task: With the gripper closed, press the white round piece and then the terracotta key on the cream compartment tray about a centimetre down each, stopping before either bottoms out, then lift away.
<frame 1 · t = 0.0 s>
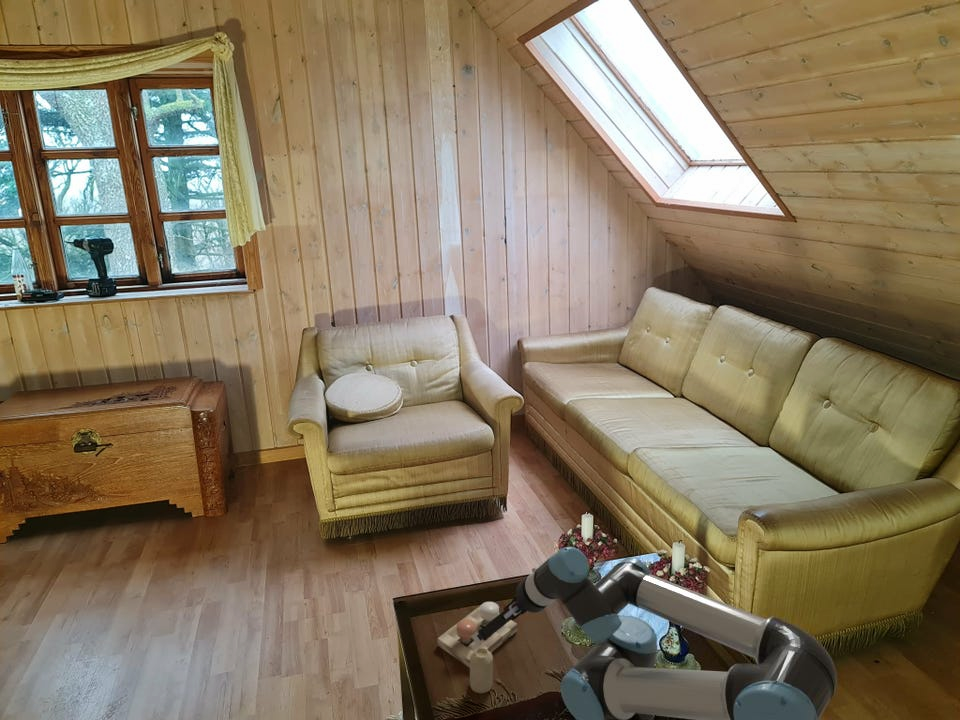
hand: (494, 624, 172), 15 cm above the table, tool tilted 35°, fingers open, 13 cm apart
key terracotta: (466, 633, 184), point 5 cm above the table, slide at 0.0 cm
cream compartment tray: (478, 638, 188), on the table
cream bottle: (481, 685, 174), on the table
white round piece: (489, 615, 190), point 5 cm above the table, slide at 0.0 cm
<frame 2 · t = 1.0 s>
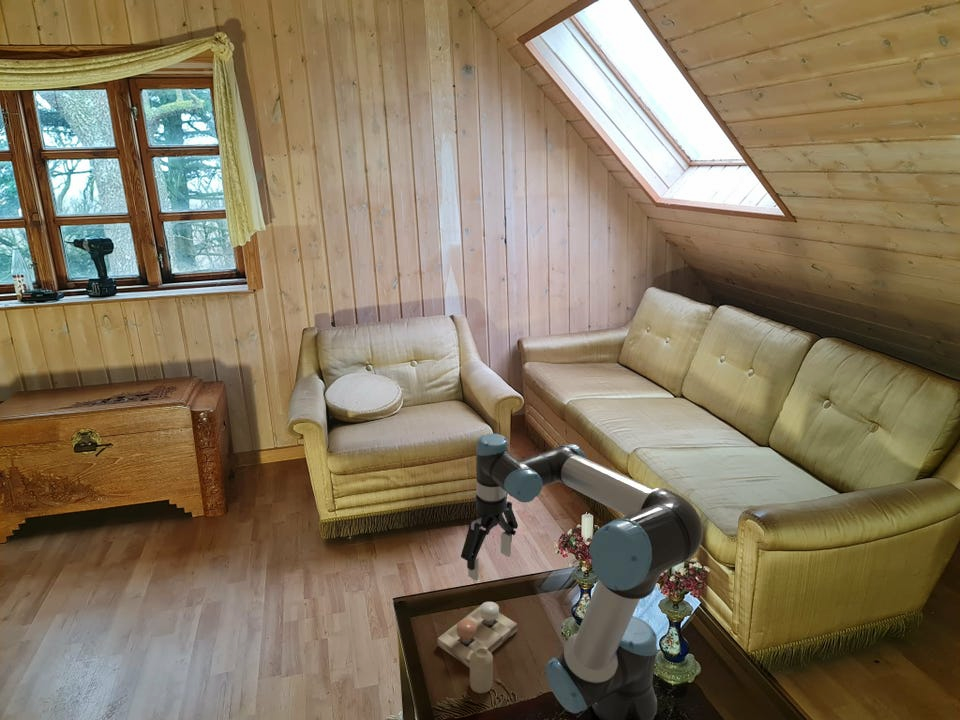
hand: (489, 565, 184), 21 cm above the table, tool pointing down, fingers open, 12 cm apart
nothing on the table moved.
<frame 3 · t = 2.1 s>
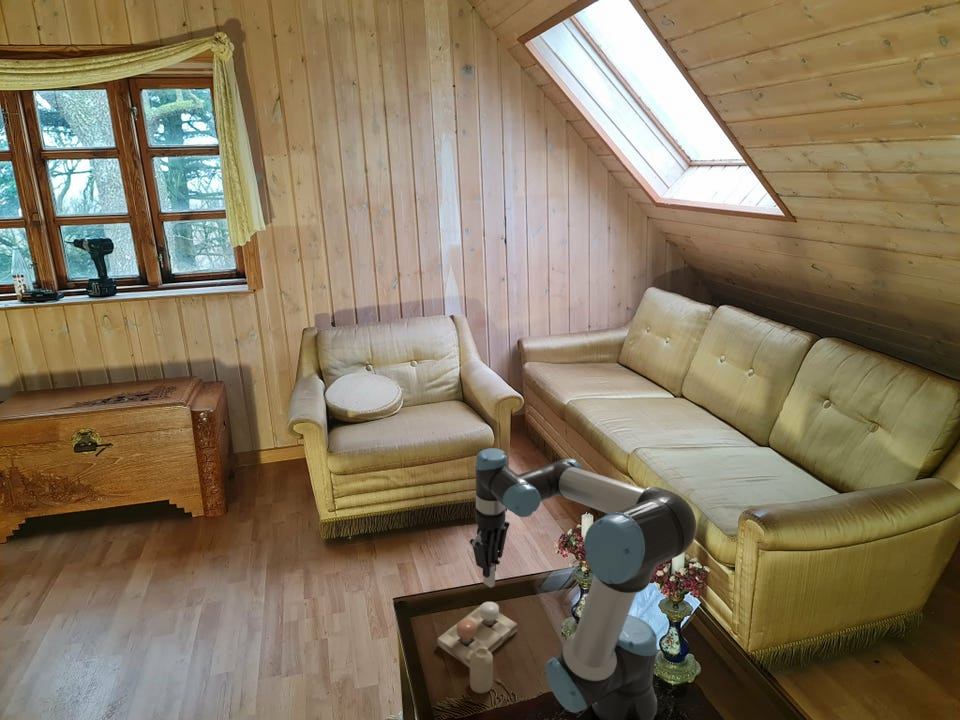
hand: (489, 584, 186), 15 cm above the table, tool pointing down, fingers closed
nothing on the table moved.
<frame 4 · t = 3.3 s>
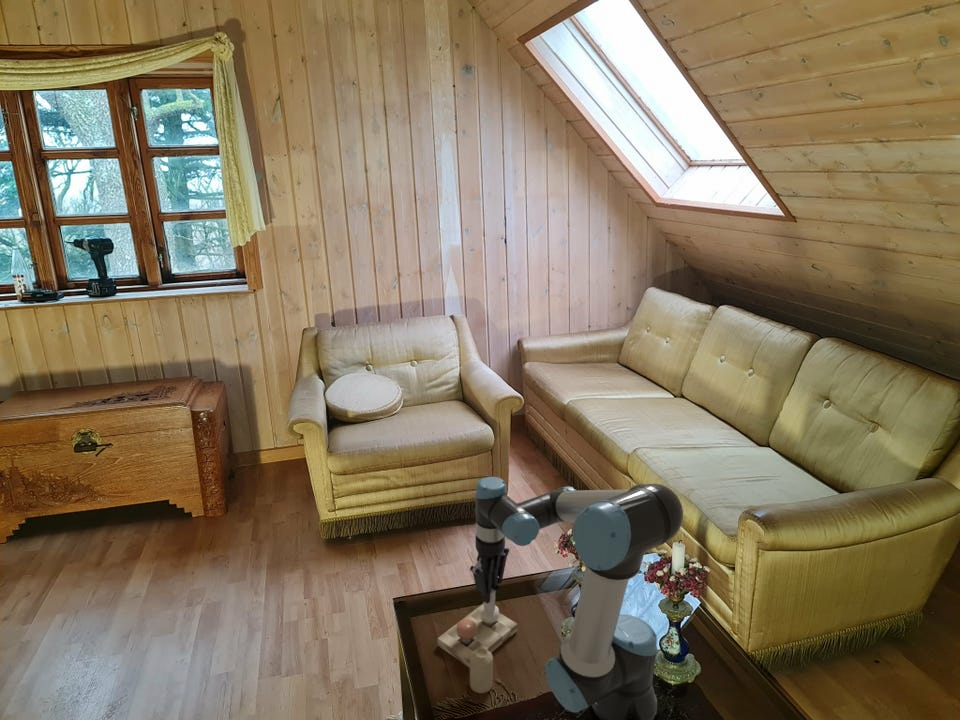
hand: (489, 609, 189), 7 cm above the table, tool pointing down, fingers closed
white round piece: (489, 617, 190), point 4 cm above the table, slide at 0.8 cm, touching gripper
everything else where it was.
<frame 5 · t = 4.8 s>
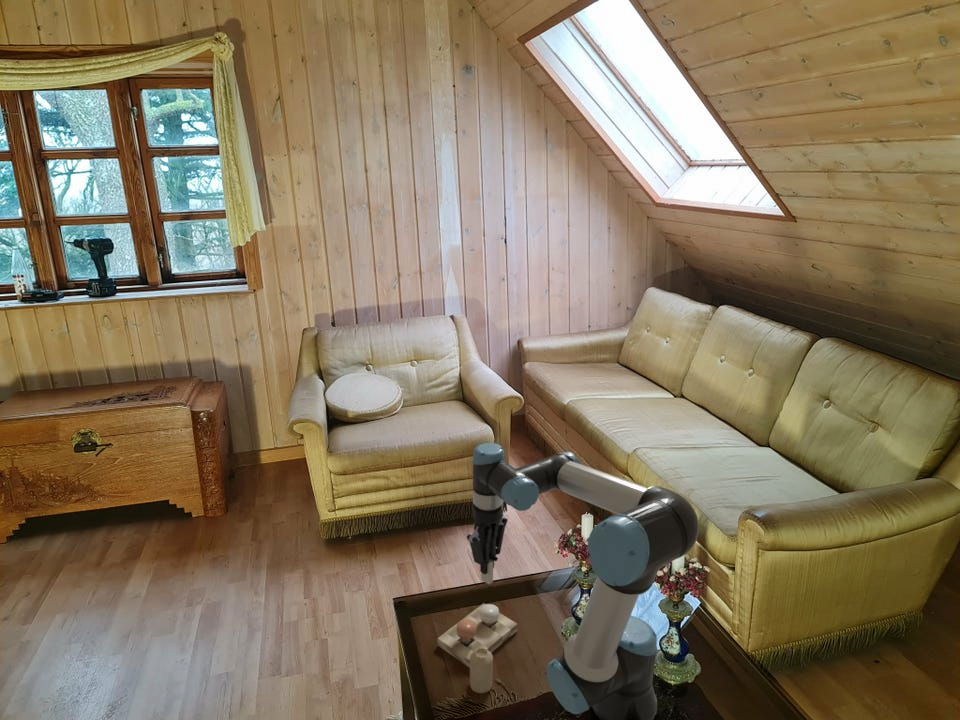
hand: (487, 580, 185), 16 cm above the table, tool pointing down, fingers closed
white round piece: (489, 617, 190), point 4 cm above the table, slide at 0.8 cm
everything else where it was.
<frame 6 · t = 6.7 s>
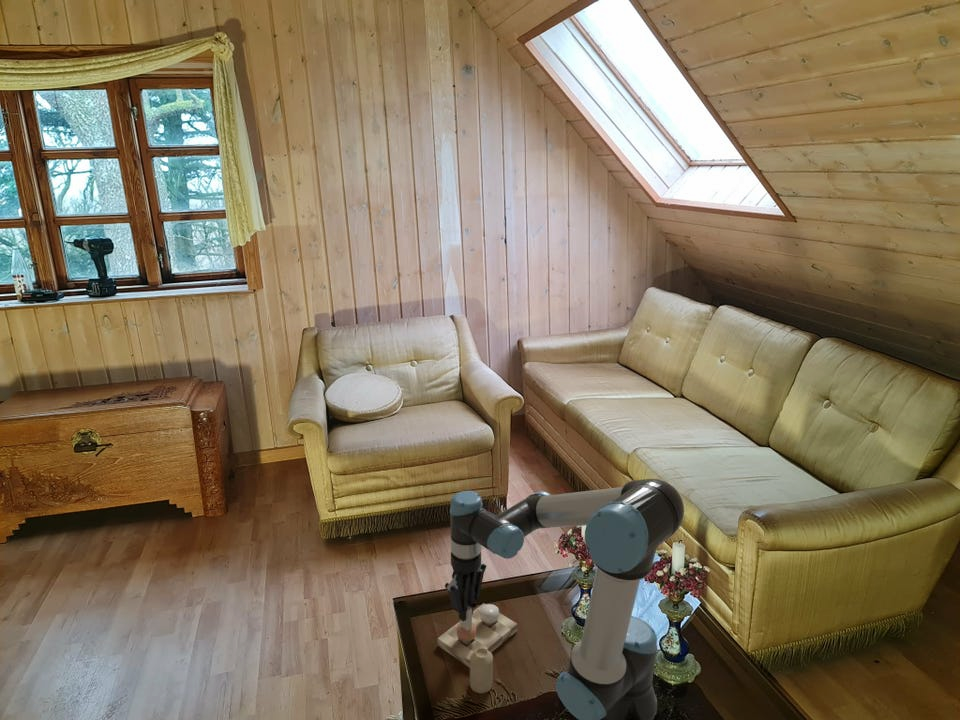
hand: (466, 627, 183), 7 cm above the table, tool pointing down, fingers closed
key terracotta: (466, 635, 184), point 4 cm above the table, slide at 0.7 cm, touching gripper
everything else where it was.
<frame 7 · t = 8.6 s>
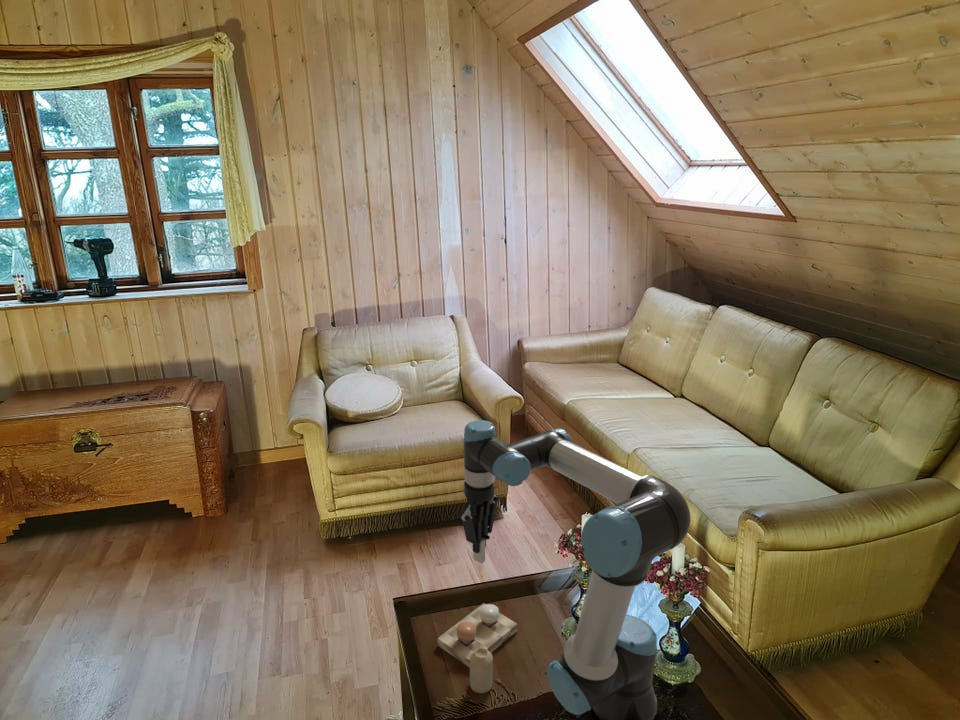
hand: (479, 560, 185), 22 cm above the table, tool pointing down, fingers closed
key terracotta: (466, 635, 184), point 4 cm above the table, slide at 0.8 cm
everything else where it was.
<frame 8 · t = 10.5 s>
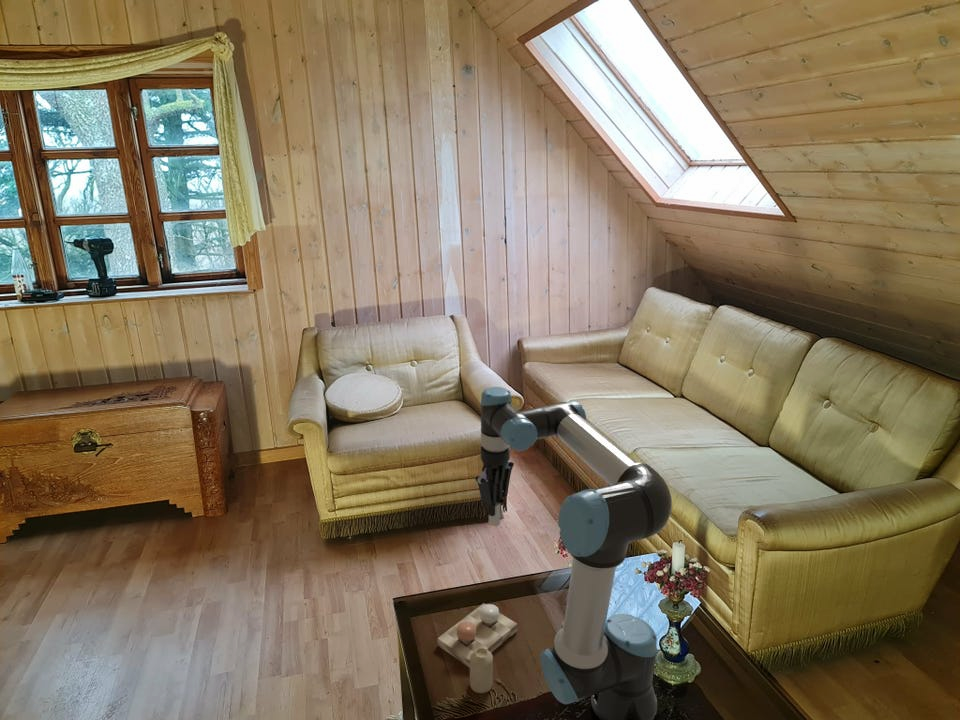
hand: (494, 523, 191), 26 cm above the table, tool pointing down, fingers closed
nothing on the table moved.
at the end: white round piece slide at 0.8 cm; key terracotta slide at 0.8 cm; cream bottle moved 0.2 cm from its start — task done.
